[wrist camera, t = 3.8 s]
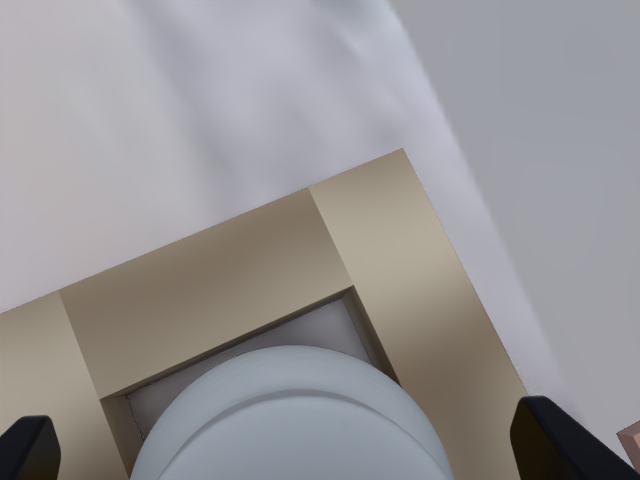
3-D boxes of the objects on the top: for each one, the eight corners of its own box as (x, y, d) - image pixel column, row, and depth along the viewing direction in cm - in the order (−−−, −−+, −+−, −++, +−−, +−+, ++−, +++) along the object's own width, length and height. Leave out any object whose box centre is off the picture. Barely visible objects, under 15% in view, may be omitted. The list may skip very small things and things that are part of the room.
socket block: (577, 567, 16) (634, 603, 13) (154, 815, 14) (129, 910, 11) (384, 178, 18) (402, 148, 15) (-10, 344, 16) (-61, 338, 13)
